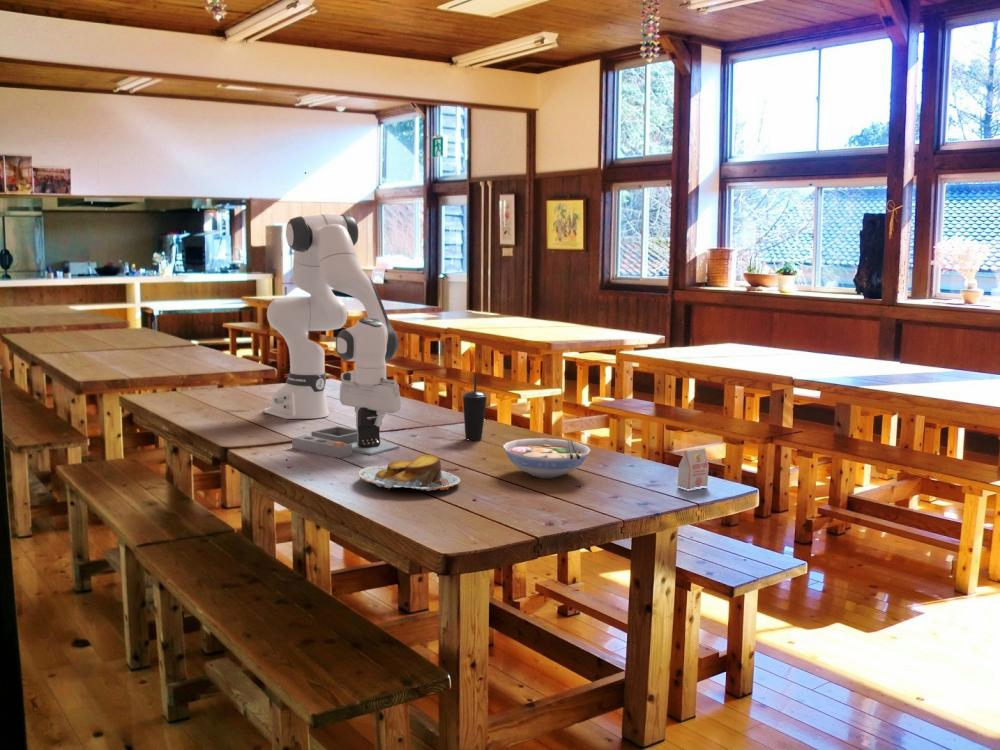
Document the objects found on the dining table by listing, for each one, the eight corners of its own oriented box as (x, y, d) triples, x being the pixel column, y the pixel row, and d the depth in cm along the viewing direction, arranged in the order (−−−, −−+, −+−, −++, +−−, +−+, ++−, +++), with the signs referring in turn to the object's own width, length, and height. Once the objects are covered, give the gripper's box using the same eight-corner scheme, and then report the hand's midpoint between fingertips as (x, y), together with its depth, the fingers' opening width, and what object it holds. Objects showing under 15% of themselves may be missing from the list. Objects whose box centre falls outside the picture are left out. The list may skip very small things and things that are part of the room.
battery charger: (362, 448, 272) (361, 408, 270) (355, 446, 275) (355, 406, 273) (383, 445, 276) (383, 406, 274) (377, 443, 279) (377, 404, 277)
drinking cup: (456, 440, 290) (458, 374, 287) (466, 435, 297) (468, 371, 294) (480, 443, 287) (482, 376, 284) (489, 438, 294) (491, 373, 291)
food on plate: (349, 475, 247) (349, 450, 246) (442, 470, 255) (443, 446, 254) (371, 502, 223) (371, 474, 222) (473, 496, 232) (474, 469, 231)
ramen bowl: (503, 462, 265) (504, 432, 264) (586, 465, 265) (588, 436, 263) (500, 485, 240) (501, 453, 239) (592, 489, 240) (593, 457, 239)
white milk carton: (677, 488, 244) (679, 449, 243) (696, 484, 248) (699, 446, 247) (687, 491, 241) (690, 452, 240) (707, 488, 245) (709, 449, 243)
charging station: (283, 446, 274) (283, 433, 274) (337, 434, 293) (337, 422, 292) (339, 458, 263) (339, 445, 262) (391, 445, 281) (392, 432, 280)
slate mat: (339, 448, 274) (339, 446, 274) (367, 441, 284) (367, 439, 284) (371, 455, 267) (371, 453, 267) (399, 448, 277) (399, 445, 277)
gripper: (406, 379, 269) (405, 428, 271) (351, 371, 281) (351, 418, 283) (391, 381, 264) (390, 431, 266) (336, 373, 275) (335, 421, 278)
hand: (369, 424), depth 275 cm, fingers closed on battery charger, 5 cm apart
